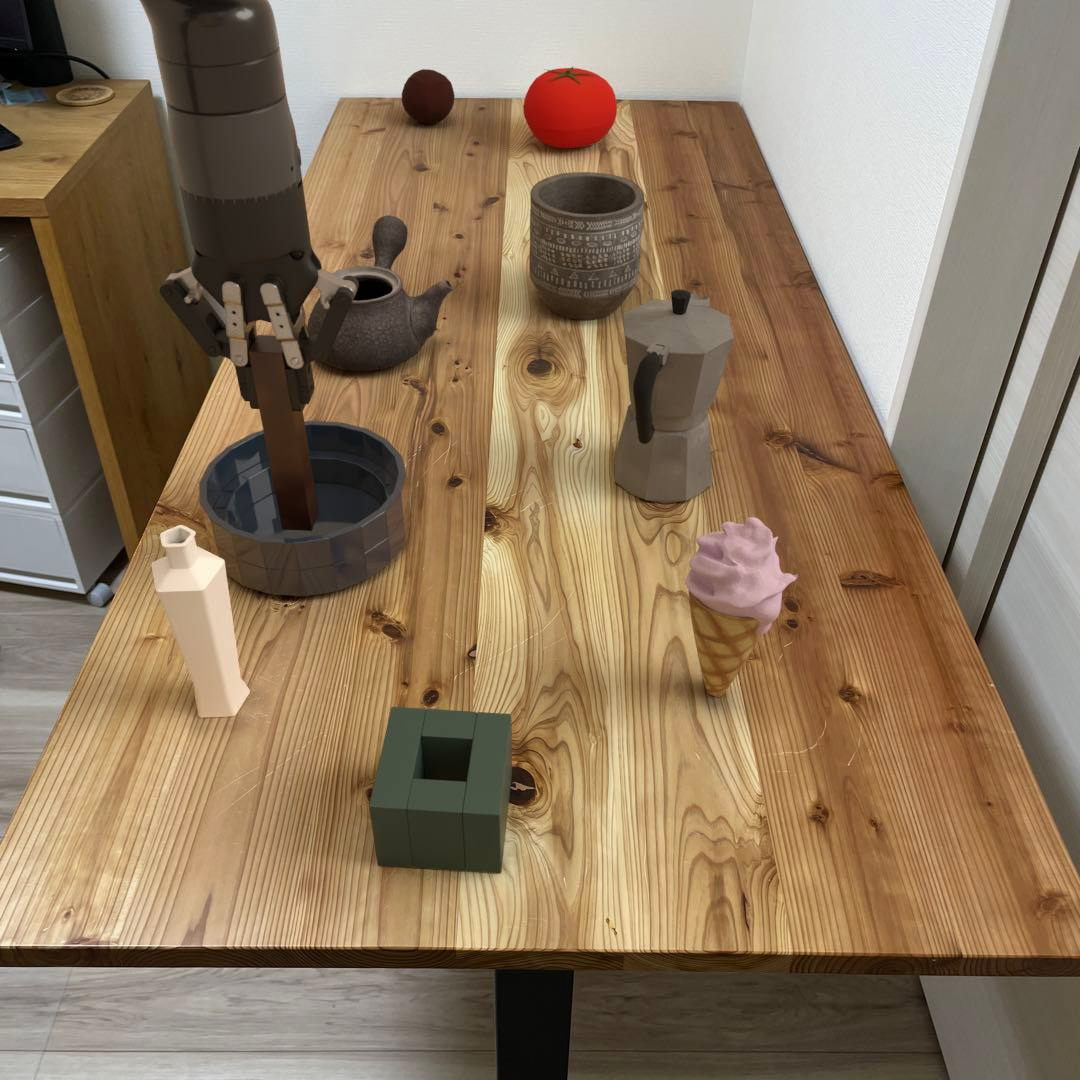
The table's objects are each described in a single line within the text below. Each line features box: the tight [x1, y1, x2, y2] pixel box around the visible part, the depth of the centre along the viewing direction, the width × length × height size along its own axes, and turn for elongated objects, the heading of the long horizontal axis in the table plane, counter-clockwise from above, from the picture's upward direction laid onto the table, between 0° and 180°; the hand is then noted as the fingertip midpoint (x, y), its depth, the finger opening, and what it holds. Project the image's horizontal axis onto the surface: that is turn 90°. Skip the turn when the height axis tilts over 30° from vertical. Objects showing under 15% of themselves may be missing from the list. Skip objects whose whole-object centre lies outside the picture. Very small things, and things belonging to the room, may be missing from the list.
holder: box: [368, 706, 513, 874], centre depth 66 cm, size 8×8×6 cm
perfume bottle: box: [151, 524, 251, 719], centre depth 71 cm, size 5×4×15 cm
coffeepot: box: [613, 289, 735, 504], centre depth 90 cm, size 15×9×18 cm, turn 156°
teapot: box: [306, 214, 454, 371], centre depth 112 cm, size 19×15×10 cm
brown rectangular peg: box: [249, 334, 319, 531], centre depth 80 cm, size 2×2×16 cm
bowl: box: [198, 420, 412, 597], centre depth 87 cm, size 16×16×6 cm
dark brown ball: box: [401, 68, 455, 125], centre depth 163 cm, size 8×9×8 cm
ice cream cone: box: [685, 516, 799, 698], centre depth 72 cm, size 7×6×15 cm
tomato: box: [522, 66, 618, 149], centre depth 156 cm, size 14×13×10 cm
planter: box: [528, 171, 645, 321], centre depth 117 cm, size 12×12×13 cm
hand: (280, 403), depth 78 cm, fingers closed on brown rectangular peg, 2 cm apart
